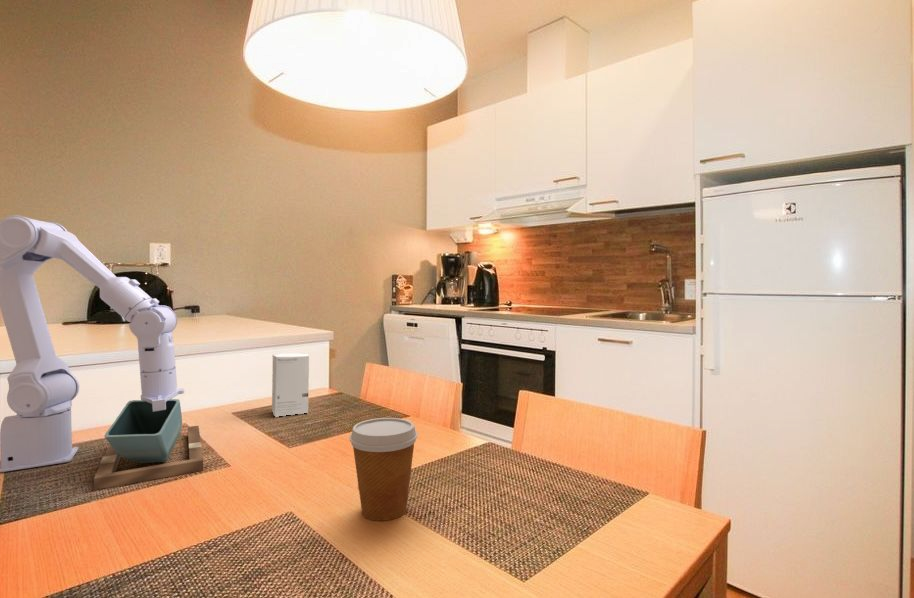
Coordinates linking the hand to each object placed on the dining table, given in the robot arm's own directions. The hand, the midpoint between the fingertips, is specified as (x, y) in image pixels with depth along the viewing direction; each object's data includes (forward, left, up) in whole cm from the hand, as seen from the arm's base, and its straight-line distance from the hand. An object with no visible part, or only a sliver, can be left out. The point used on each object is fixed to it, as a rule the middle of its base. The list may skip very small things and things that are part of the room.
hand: (163, 440), depth 89 cm
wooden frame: (-1, -1, -3) cm, 3 cm away
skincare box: (+27, +17, -3) cm, 32 cm away
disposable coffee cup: (+28, -43, -3) cm, 51 cm away
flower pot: (-1, -3, -1) cm, 3 cm away
